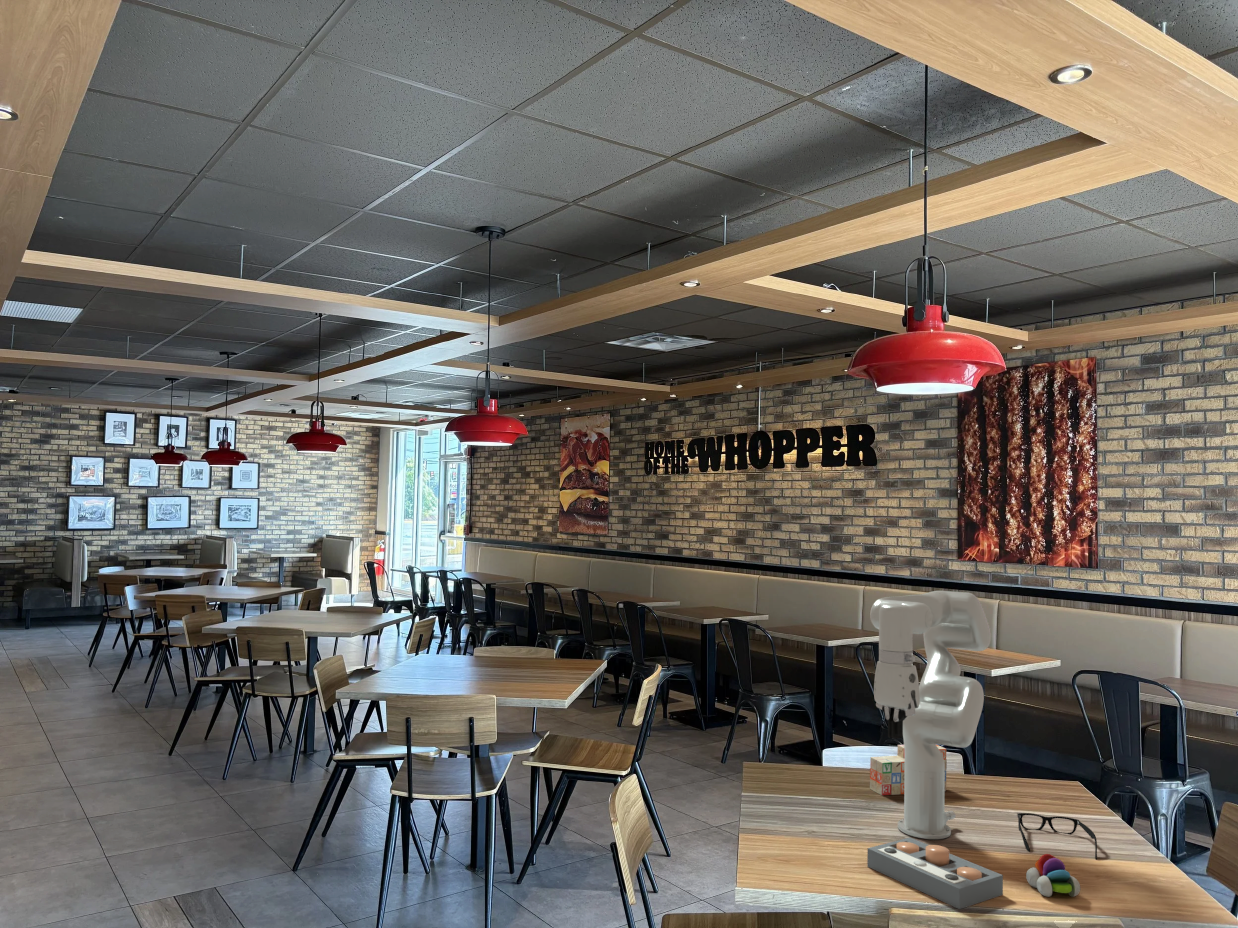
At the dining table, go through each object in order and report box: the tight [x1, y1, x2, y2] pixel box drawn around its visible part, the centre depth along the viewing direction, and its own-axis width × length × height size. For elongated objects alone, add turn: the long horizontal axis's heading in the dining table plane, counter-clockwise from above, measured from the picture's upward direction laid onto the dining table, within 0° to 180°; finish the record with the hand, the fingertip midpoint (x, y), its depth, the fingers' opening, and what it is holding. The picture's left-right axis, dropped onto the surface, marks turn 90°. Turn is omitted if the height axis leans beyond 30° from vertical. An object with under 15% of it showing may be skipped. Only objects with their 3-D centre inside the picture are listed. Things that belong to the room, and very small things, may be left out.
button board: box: [866, 837, 1004, 910], centre depth 188 cm, size 14×24×4 cm, turn 32°
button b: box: [926, 844, 950, 867], centre depth 189 cm, size 5×5×3 cm
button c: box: [957, 867, 982, 881], centre depth 182 cm, size 5×5×3 cm
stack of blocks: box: [869, 744, 948, 796], centre depth 251 cm, size 21×6×12 cm, turn 106°
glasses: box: [1016, 812, 1098, 861], centre depth 212 cm, size 17×18×5 cm
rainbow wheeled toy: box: [1025, 853, 1081, 898], centre depth 184 cm, size 8×10×7 cm
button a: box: [897, 842, 919, 854], centre depth 196 cm, size 5×5×3 cm
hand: (895, 737), depth 202 cm, fingers closed
